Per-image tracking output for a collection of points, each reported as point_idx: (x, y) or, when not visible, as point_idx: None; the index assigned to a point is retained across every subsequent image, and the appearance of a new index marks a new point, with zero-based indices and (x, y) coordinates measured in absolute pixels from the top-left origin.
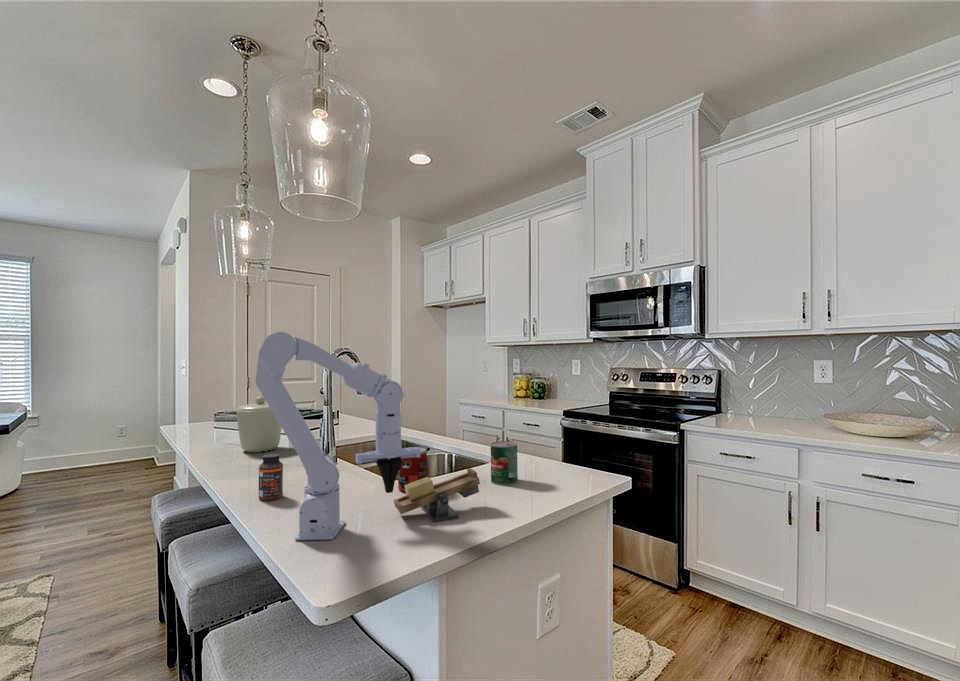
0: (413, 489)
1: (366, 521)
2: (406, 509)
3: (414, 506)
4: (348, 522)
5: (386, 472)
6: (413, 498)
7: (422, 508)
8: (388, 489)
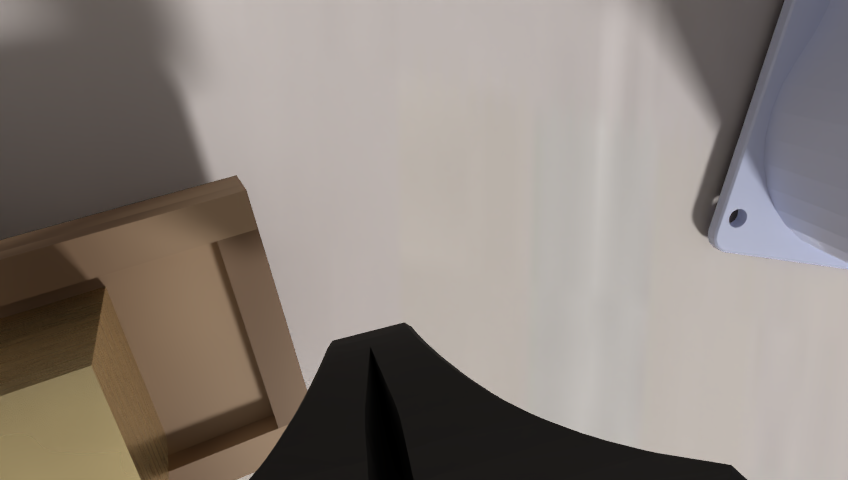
0: (3, 381)
1: (543, 247)
2: (166, 202)
3: (63, 229)
4: (678, 251)
5: (496, 457)
6: (55, 321)
7: None
8: (393, 336)
